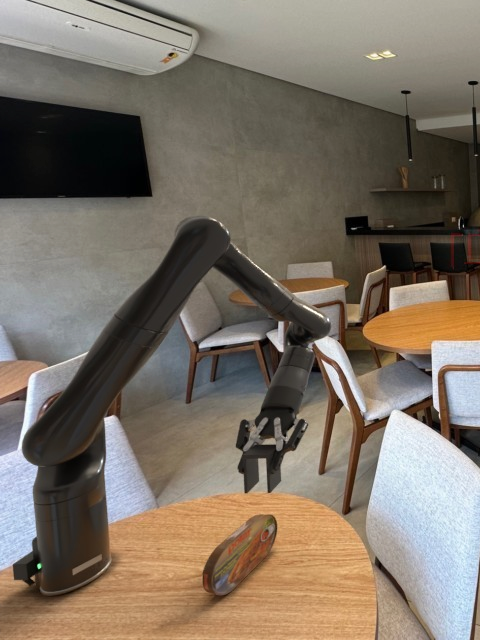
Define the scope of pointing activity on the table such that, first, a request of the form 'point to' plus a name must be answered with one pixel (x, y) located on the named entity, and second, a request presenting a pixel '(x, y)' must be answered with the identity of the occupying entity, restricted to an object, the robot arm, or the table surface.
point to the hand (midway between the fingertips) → (257, 472)
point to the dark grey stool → (253, 469)
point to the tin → (239, 554)
